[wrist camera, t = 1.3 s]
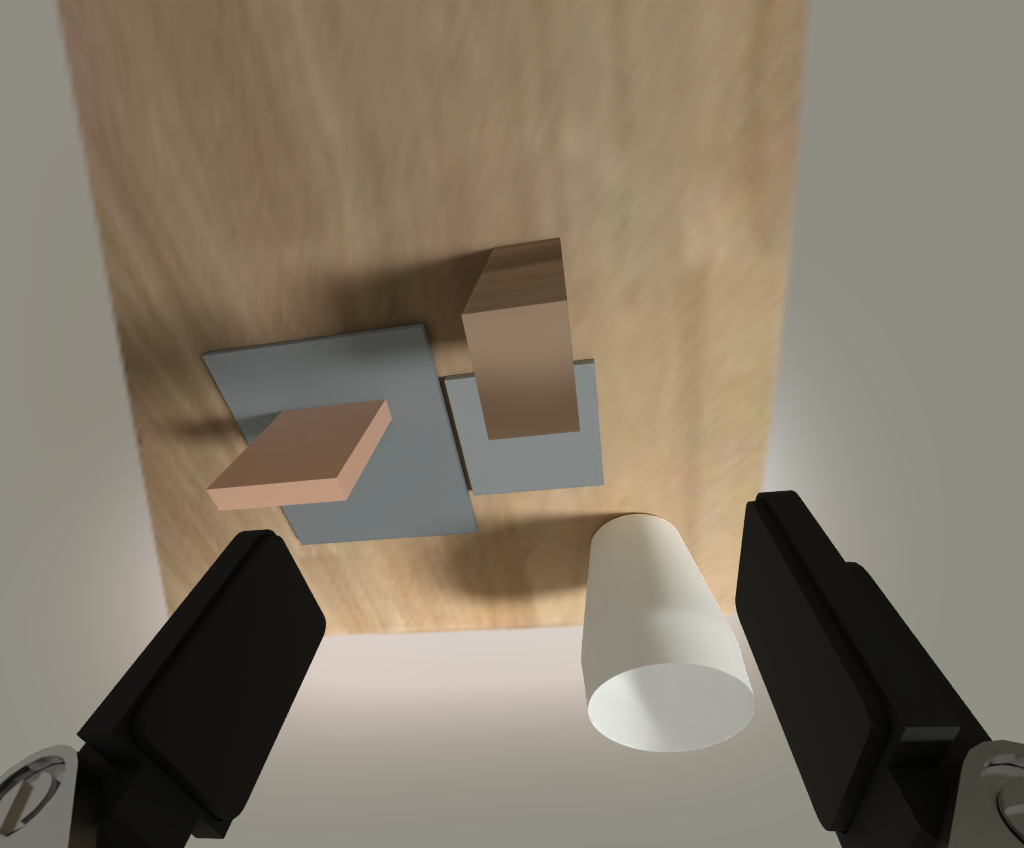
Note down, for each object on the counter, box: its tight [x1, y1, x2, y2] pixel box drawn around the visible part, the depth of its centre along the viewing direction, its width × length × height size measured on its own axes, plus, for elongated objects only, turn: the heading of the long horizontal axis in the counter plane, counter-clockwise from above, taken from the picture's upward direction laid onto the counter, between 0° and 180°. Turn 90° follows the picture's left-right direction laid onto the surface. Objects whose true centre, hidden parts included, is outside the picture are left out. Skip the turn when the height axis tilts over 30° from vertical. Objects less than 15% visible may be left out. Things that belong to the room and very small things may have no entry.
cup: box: [581, 514, 756, 752], centre depth 30 cm, size 9×9×12 cm
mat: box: [202, 323, 478, 545], centre depth 32 cm, size 16×14×1 cm
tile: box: [206, 399, 392, 511], centre depth 27 cm, size 2×7×8 cm, turn 99°
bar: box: [461, 238, 580, 440], centre depth 21 cm, size 5×4×11 cm
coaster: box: [444, 359, 604, 496], centre depth 31 cm, size 9×9×1 cm
